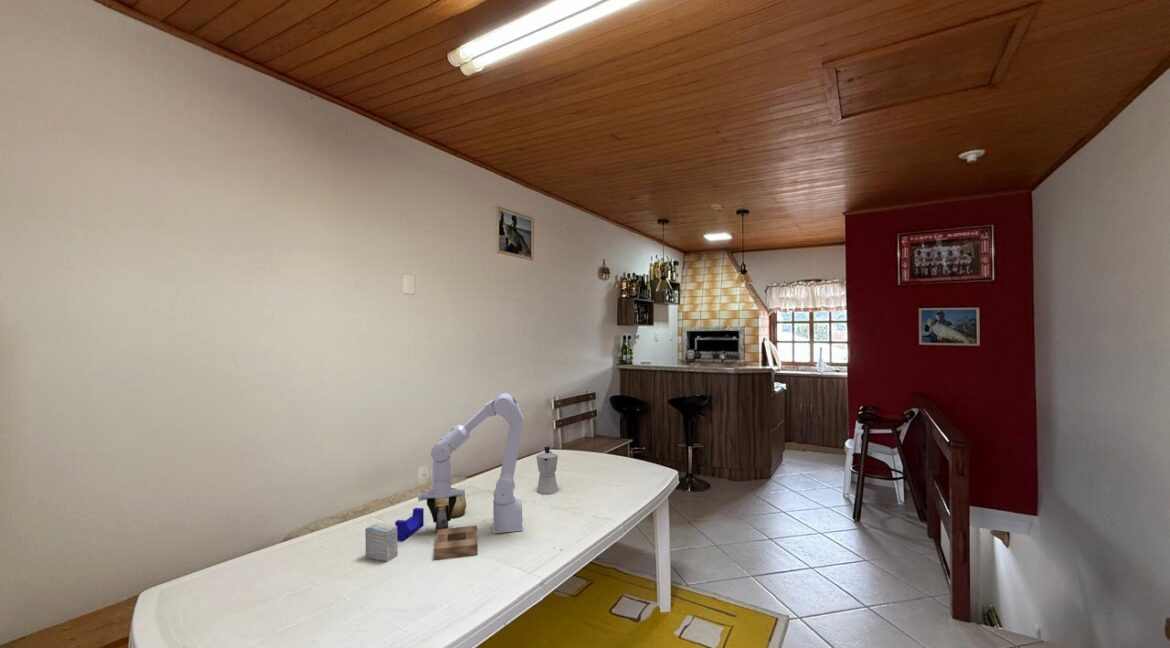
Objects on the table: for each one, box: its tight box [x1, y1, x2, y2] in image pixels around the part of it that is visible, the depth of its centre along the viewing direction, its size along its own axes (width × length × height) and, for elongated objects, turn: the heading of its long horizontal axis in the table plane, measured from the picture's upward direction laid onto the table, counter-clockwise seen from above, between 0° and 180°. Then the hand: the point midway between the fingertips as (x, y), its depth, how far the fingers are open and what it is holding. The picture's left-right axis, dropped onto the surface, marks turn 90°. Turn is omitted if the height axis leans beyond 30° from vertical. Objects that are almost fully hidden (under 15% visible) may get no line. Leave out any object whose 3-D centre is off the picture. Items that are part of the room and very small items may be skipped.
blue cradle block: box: [394, 507, 425, 542], centre depth 152 cm, size 12×4×6 cm, turn 170°
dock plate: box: [433, 525, 479, 561], centre depth 142 cm, size 12×14×3 cm
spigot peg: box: [435, 504, 449, 534], centre depth 153 cm, size 4×4×8 cm
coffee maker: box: [536, 445, 559, 495], centre depth 193 cm, size 15×9×18 cm, turn 179°
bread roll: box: [435, 487, 467, 518], centre depth 170 cm, size 10×15×8 cm, turn 49°
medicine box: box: [364, 522, 399, 562], centre depth 136 cm, size 8×4×9 cm, turn 71°
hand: (442, 520), depth 153 cm, fingers closed on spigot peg, 4 cm apart
